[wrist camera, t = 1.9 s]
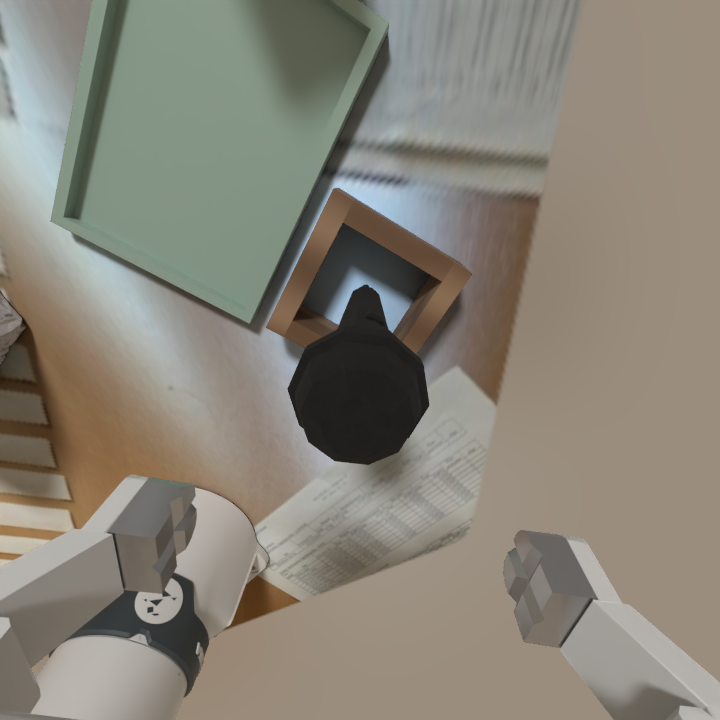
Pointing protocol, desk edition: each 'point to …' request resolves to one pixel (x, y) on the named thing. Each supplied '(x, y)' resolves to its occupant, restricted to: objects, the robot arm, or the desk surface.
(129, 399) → the desk surface
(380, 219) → the holder
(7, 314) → the petrified wood
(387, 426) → the microphone
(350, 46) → the tray
